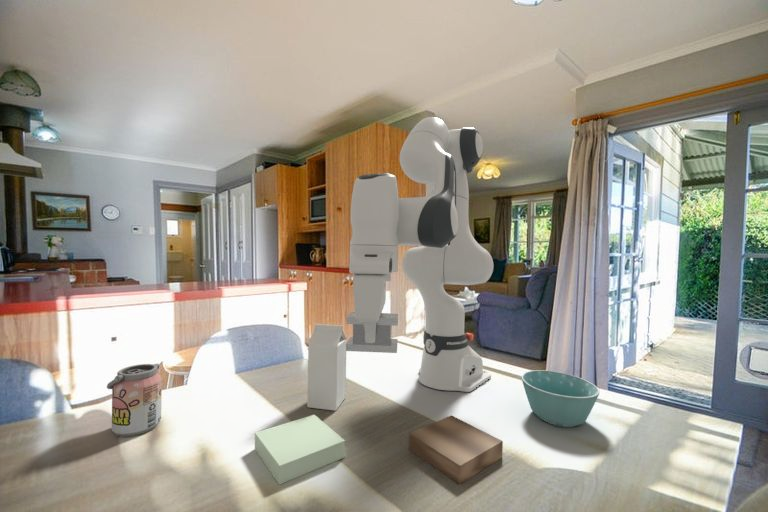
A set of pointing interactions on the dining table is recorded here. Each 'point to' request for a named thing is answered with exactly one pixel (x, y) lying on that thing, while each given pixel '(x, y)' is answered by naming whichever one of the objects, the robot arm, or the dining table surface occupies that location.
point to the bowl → (559, 397)
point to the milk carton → (326, 367)
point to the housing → (382, 335)
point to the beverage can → (136, 400)
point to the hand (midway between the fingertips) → (372, 337)
